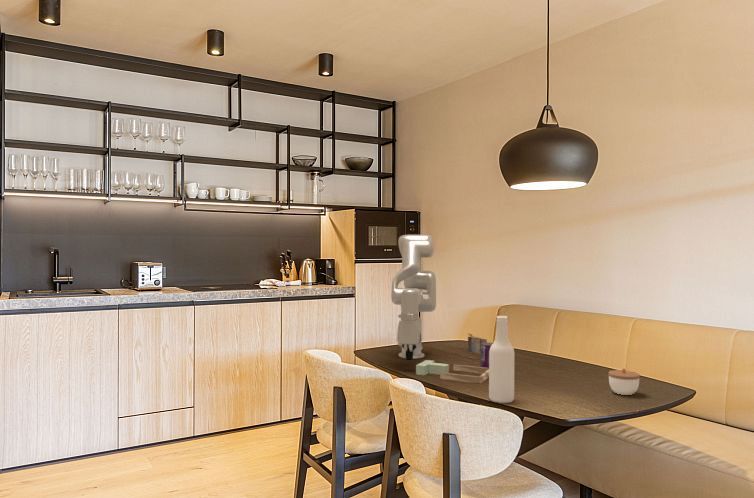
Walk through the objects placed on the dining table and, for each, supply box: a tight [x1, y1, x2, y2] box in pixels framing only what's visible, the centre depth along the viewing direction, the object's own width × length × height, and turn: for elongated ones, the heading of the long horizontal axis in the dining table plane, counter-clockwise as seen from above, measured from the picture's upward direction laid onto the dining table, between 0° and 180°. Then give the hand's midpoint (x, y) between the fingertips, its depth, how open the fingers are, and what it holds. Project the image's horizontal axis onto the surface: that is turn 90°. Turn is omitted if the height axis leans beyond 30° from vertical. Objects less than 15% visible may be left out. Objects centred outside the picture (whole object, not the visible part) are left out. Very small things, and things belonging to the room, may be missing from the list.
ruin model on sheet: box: [467, 333, 488, 355], centre depth 292 cm, size 11×3×10 cm, turn 32°
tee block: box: [415, 359, 450, 376], centre depth 246 cm, size 12×12×4 cm
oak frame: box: [439, 364, 489, 384], centre depth 240 cm, size 18×17×2 cm
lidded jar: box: [608, 368, 641, 396], centre depth 214 cm, size 11×11×9 cm
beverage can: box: [479, 342, 494, 368], centre depth 250 cm, size 7×7×12 cm
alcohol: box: [488, 315, 515, 404], centre depth 205 cm, size 9×9×30 cm
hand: (409, 359), depth 251 cm, fingers closed
